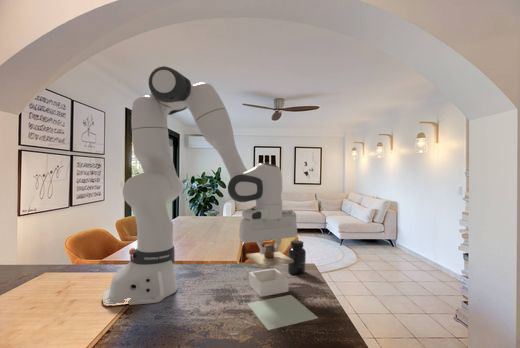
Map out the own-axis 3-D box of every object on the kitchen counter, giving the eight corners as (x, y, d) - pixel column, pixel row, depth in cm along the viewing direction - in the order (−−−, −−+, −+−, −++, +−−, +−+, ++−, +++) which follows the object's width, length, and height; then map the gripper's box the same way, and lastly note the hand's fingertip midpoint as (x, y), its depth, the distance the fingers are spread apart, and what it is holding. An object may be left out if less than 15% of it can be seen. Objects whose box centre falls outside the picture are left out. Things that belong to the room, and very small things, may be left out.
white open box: (260, 298, 89) (260, 283, 89) (248, 286, 98) (249, 272, 98) (288, 293, 93) (288, 278, 93) (274, 282, 102) (274, 268, 102)
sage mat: (268, 331, 71) (268, 330, 71) (246, 304, 84) (246, 303, 84) (318, 319, 76) (318, 317, 76) (290, 296, 90) (290, 294, 90)
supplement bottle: (305, 276, 107) (305, 244, 107) (287, 274, 109) (287, 243, 108) (305, 269, 114) (306, 240, 114) (288, 268, 115) (289, 239, 115)
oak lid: (259, 267, 87) (259, 252, 87) (246, 256, 98) (246, 242, 98) (293, 262, 92) (293, 247, 92) (277, 252, 103) (277, 239, 103)
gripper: (291, 208, 102) (291, 246, 102) (237, 212, 94) (237, 253, 94) (300, 211, 96) (300, 251, 96) (244, 215, 88) (244, 259, 88)
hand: (269, 252), depth 95 cm, fingers closed on oak lid, 3 cm apart
